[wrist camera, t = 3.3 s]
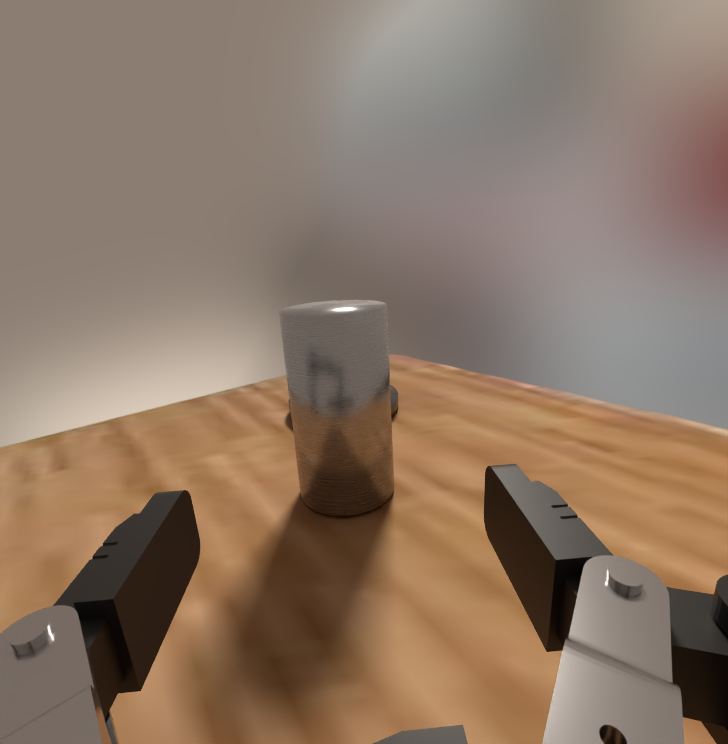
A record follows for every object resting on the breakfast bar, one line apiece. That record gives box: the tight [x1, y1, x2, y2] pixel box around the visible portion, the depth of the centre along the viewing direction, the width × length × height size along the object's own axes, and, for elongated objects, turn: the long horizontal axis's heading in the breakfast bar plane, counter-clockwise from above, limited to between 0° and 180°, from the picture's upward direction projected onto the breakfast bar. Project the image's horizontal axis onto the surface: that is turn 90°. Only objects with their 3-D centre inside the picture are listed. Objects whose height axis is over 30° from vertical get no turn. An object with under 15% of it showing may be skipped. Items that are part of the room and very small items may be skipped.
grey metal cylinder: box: [279, 300, 394, 516], centre depth 21 cm, size 5×5×10 cm
